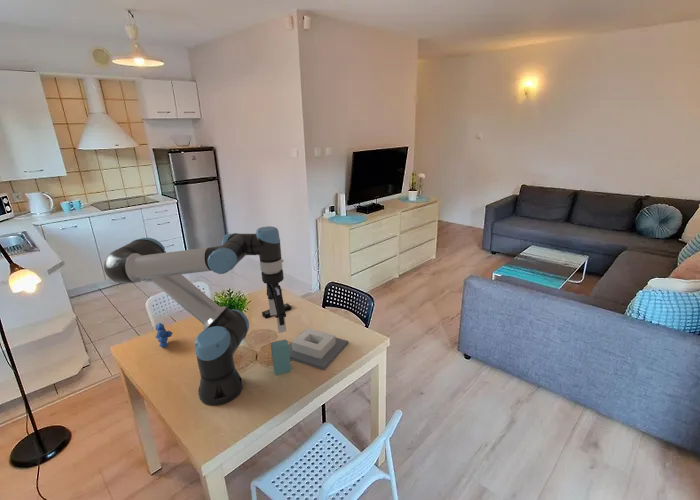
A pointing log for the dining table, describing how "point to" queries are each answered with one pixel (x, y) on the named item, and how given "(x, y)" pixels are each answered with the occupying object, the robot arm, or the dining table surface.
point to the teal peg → (280, 357)
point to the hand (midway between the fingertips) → (277, 322)
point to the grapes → (162, 335)
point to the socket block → (316, 348)
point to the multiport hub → (267, 314)
